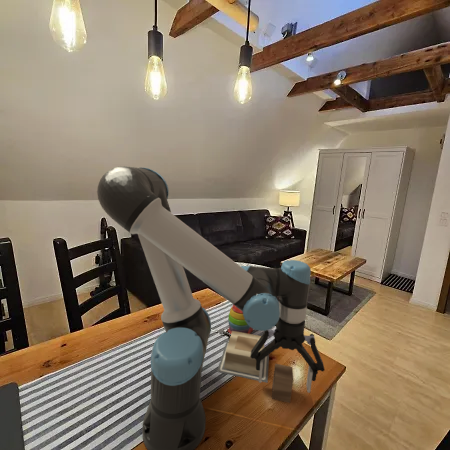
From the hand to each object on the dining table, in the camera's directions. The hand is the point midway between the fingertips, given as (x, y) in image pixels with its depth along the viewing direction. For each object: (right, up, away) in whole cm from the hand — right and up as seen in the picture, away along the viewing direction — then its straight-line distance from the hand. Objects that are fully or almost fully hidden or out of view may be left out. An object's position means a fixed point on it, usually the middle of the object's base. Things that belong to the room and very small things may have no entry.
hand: (283, 384), depth 74 cm
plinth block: (-10, 0, +13) cm, 17 cm away
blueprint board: (-10, -1, +14) cm, 17 cm away
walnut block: (-1, -4, +1) cm, 4 cm away
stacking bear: (-11, +2, +29) cm, 31 cm away
